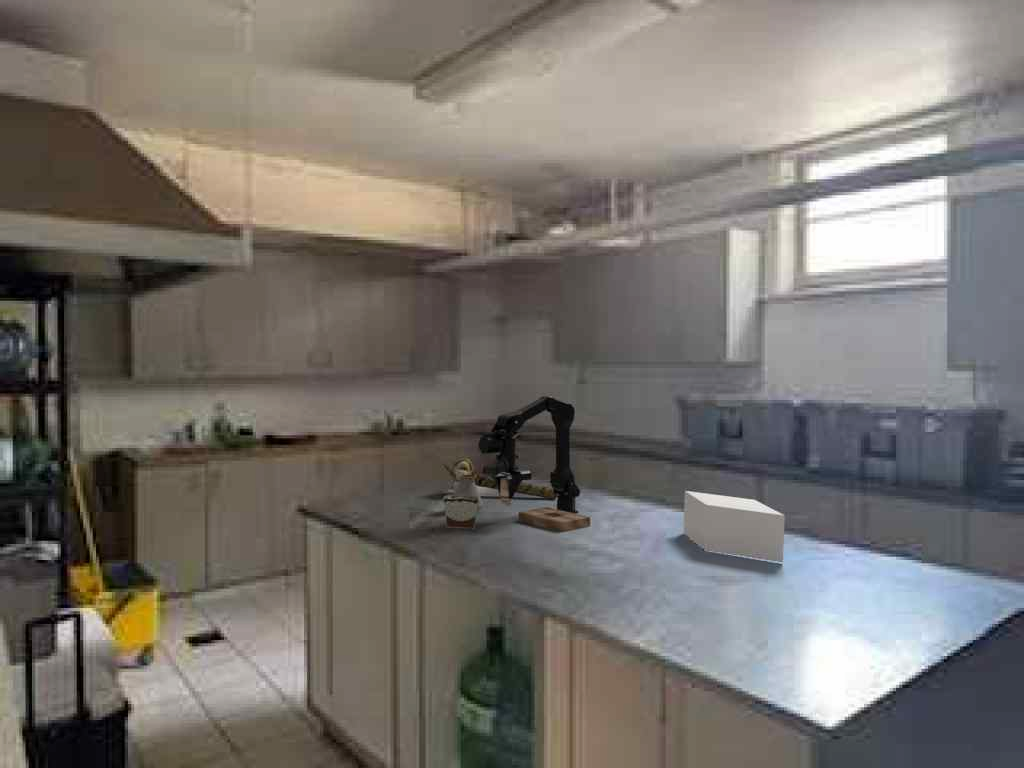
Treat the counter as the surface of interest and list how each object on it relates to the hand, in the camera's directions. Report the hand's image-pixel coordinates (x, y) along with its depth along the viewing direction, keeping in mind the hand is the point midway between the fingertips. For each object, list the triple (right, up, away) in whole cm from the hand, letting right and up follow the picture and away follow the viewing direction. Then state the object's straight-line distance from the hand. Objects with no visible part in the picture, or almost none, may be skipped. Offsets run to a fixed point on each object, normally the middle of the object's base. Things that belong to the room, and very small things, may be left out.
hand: (506, 497), depth 255 cm
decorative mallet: (-2, -7, +44) cm, 44 cm away
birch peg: (0, -3, 0) cm, 3 cm away
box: (+68, -11, -28) cm, 74 cm away
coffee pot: (-17, -7, +19) cm, 26 cm away
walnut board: (+16, -9, -1) cm, 18 cm away
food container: (-15, -8, -8) cm, 18 cm away
